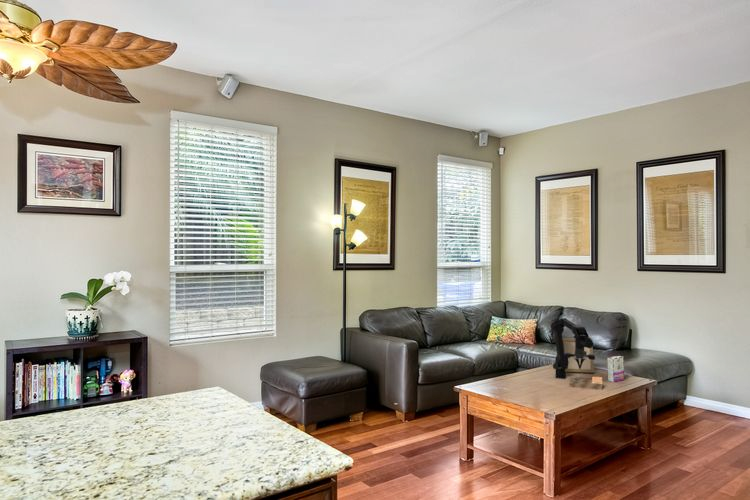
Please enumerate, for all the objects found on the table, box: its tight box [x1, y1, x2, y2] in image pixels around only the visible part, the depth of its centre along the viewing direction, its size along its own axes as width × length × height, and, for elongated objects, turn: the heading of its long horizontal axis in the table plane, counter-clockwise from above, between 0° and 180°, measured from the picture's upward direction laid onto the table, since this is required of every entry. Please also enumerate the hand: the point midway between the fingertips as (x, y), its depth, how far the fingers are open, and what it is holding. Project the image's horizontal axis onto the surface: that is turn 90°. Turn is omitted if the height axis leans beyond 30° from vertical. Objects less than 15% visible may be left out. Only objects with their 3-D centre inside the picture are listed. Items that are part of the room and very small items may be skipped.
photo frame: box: [562, 337, 595, 374], centre depth 379 cm, size 15×22×25 cm
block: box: [591, 376, 603, 384], centre depth 331 cm, size 6×6×5 cm
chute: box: [568, 376, 603, 390], centre depth 334 cm, size 20×10×4 cm, turn 66°
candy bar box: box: [606, 355, 625, 383], centre depth 349 cm, size 11×5×16 cm, turn 117°
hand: (579, 368), depth 338 cm, fingers closed
